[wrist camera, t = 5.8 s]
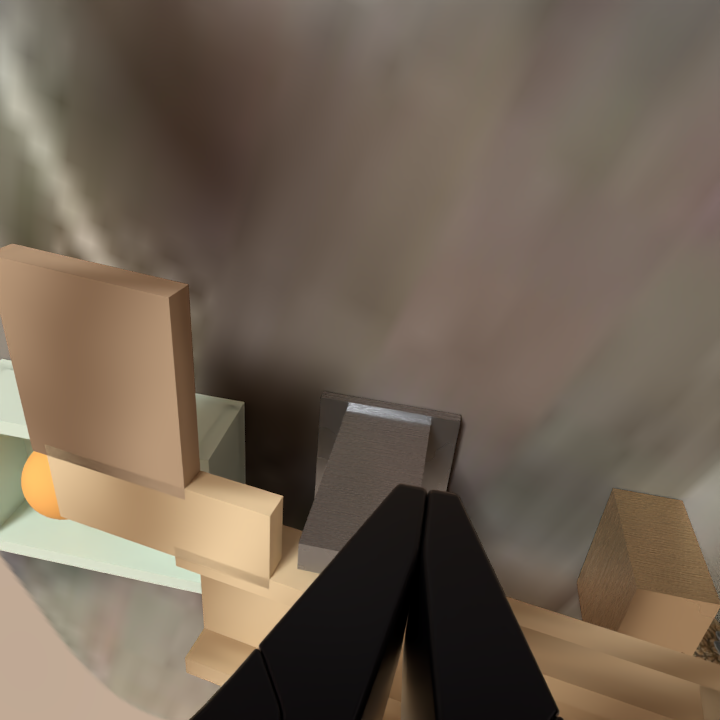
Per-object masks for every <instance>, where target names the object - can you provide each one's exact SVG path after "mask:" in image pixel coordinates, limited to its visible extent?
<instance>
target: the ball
mask: <svg viewBox="0 0 720 720" xmlns="http://www.w3.org/2000/svg"><path fill="white" fill-rule="evenodd" d="M21 486H22V491H23V494H24V497H25V498H26V500H27V502H28V503H29V505H30V506H31V507H32V508H33V509H34V510H35V511H37V512H38V513H40V514H42V515H44V516H46V517H49V518H52V519H58V520H68V519H67V518H64V517H61V516H60V512H59V507H58V503H57V498H56V494H55V489H54V485H53V480H52V476H51V471H50V467H49V462H48V458H47V455H45V454H42V453H38V452H35V451H33V452H32V454H31V455H30V456H29V458H28V459H27V461H26V463H25V465H24V468H23V471H22V476H21Z"/></svg>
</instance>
